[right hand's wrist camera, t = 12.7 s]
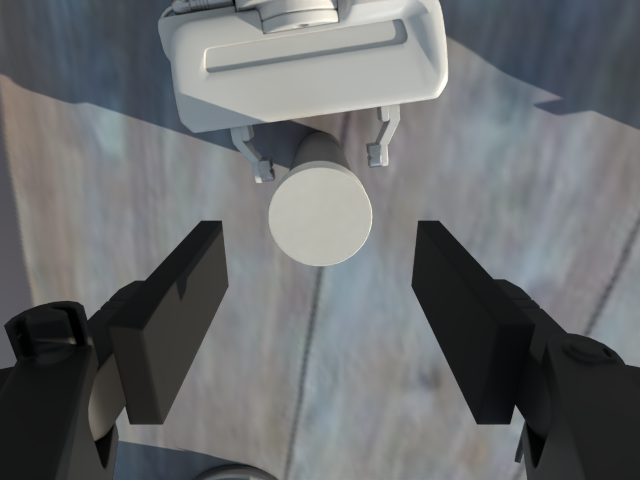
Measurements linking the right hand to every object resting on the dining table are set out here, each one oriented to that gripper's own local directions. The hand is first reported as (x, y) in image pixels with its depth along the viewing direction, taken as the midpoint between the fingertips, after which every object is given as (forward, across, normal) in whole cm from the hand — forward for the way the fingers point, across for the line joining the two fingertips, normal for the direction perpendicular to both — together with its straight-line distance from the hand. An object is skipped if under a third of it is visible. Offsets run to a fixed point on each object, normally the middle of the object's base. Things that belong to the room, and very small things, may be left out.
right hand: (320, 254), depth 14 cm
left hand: (+18, 0, 0) cm, 18 cm away
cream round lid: (+5, 0, 0) cm, 5 cm away
